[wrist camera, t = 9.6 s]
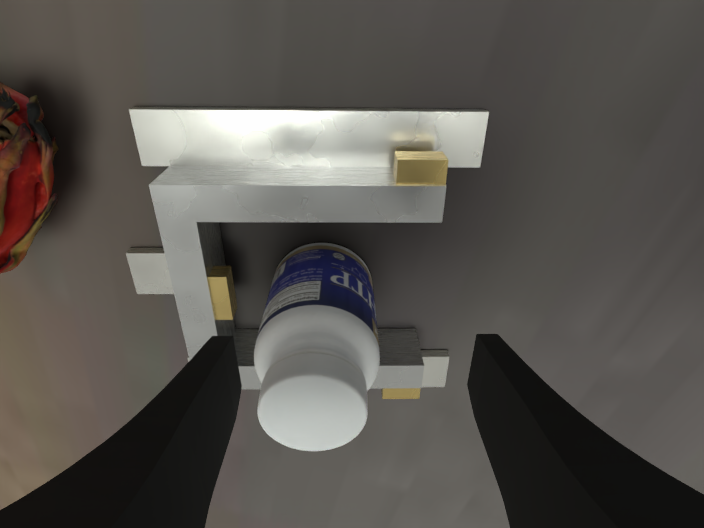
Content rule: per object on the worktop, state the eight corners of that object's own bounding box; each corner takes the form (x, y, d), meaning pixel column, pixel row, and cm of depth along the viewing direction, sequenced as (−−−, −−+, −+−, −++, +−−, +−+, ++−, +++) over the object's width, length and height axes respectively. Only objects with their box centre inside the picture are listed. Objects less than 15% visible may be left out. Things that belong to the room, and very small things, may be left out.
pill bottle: (390, 296, 24) (412, 432, 16) (310, 336, 25) (295, 480, 17) (337, 220, 22) (335, 338, 14) (253, 269, 23) (207, 401, 15)
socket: (484, 109, 19) (507, 124, 16) (442, 379, 27) (453, 419, 24) (91, 106, 19) (51, 121, 16) (167, 381, 27) (148, 421, 24)
